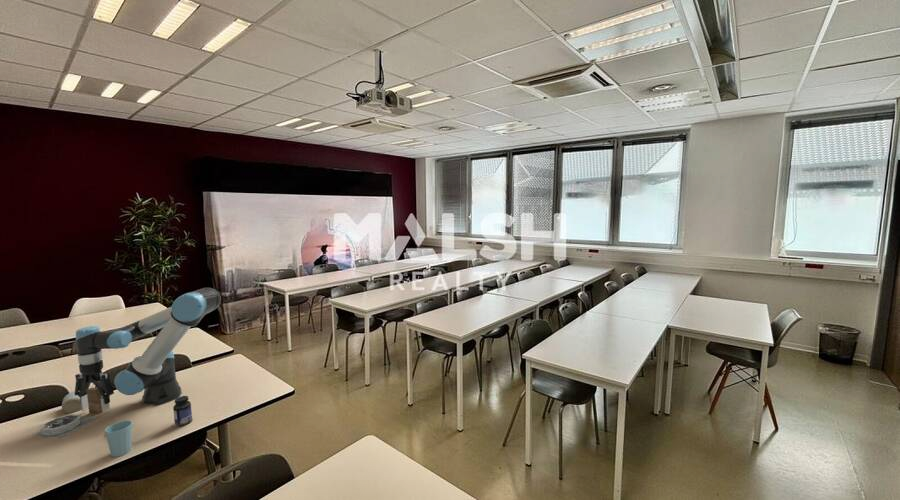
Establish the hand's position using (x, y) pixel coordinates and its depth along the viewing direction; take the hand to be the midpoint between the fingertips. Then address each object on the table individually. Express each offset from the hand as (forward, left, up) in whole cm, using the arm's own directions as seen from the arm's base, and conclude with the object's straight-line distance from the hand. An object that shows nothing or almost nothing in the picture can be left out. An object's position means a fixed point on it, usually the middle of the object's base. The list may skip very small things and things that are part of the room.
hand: (96, 410), depth 164 cm
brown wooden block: (0, 0, -2) cm, 2 cm away
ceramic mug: (+13, -4, -2) cm, 14 cm away
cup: (-37, +24, -2) cm, 44 cm away
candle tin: (+2, +12, -1) cm, 12 cm away
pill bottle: (-45, +4, -2) cm, 45 cm away
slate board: (+1, +11, -2) cm, 11 cm away
